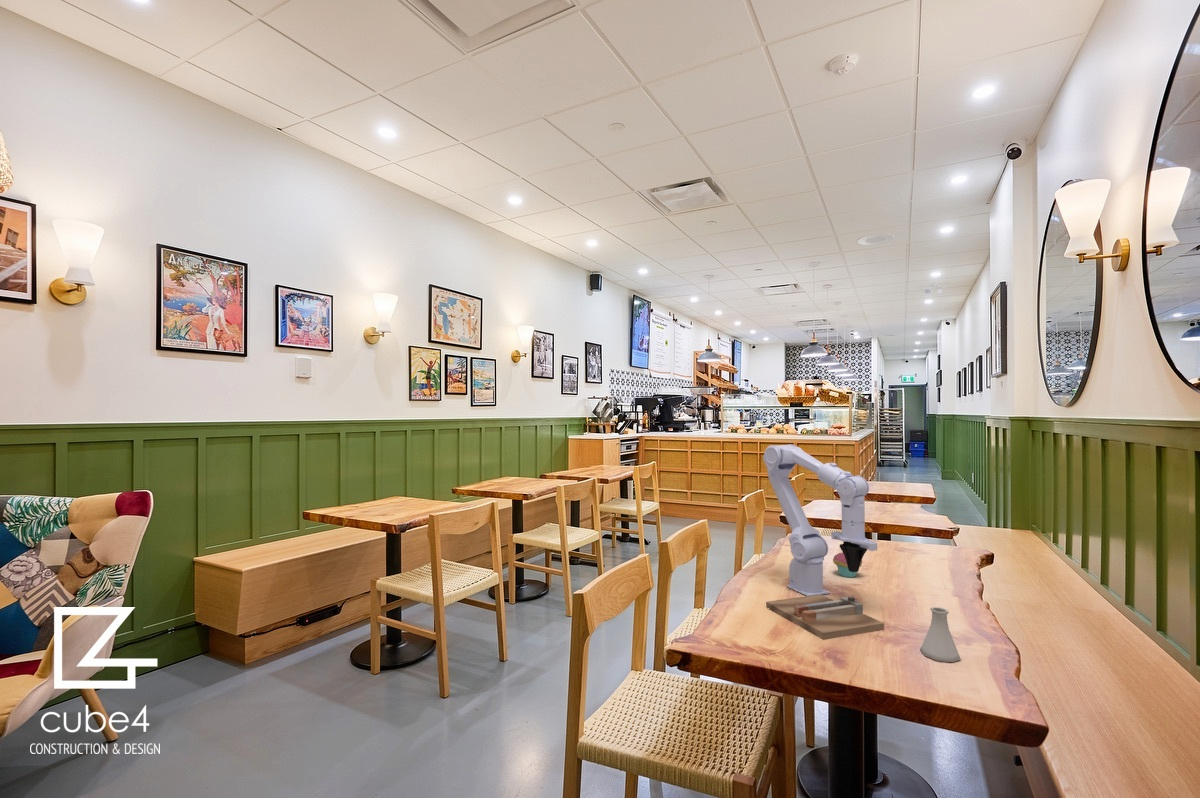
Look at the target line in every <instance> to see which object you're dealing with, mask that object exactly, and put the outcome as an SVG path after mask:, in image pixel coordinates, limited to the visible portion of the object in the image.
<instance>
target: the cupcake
mask: <svg viewBox="0 0 1200 798" xmlns="http://www.w3.org/2000/svg"><path fill="white" fill-rule="evenodd" d="M832 562H833V564H834V565H836V567H837V570H838V574H839V575H840V576H842V577H844V578H855V577H857V573H858V572H850V571H849V569H848V565H847V562H846V559H845V556H844V554H843V552H839V553H837V554H835V555H834V556H833V558H832ZM862 564H863V559H862V560H861V563H860V567H859V568H861V567H862Z"/></svg>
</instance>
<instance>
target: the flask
mask: <svg viewBox="0 0 1200 798" xmlns="http://www.w3.org/2000/svg"><path fill="white" fill-rule="evenodd" d="M930 612H931V621H930V626H929V627H928V630H927V633H926V636H925V638H924V639H923V642H922V644H921V646H920V648H919V650H920V652H921V653H922V654H923V656H925V657H927V658H930V659H931V660H935V661H937V662H946V663H947V662H948V663H954V662H957V661H961V660H962V658H961V656H960V653H959V651H958V649H957V646H956V645H955V644H956V643H955V641H954V639H953V636H952V634H951V631H950V627H949V624H948V615H949V613H950V612H949V610H948V609H947V608H944V607H938V606H932V607H930Z"/></svg>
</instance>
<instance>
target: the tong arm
mask: <svg viewBox="0 0 1200 798" xmlns="http://www.w3.org/2000/svg"><path fill="white" fill-rule="evenodd" d="M832 600H833V601H827V602H820V603H813V604H806V605H804V604H803V605H796V606H794V614H795V615H797V616H802V611H807V610H818V609H825V608H831V607H838V606H843V601H841V599H836V600H835V599H832Z"/></svg>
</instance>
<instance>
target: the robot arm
mask: <svg viewBox="0 0 1200 798" xmlns="http://www.w3.org/2000/svg"><path fill="white" fill-rule="evenodd" d="M762 460H763V462H764V464H765V467H766V469H767V476H768V480H769V482H770V485H771V487H772V489H773V491H774V494H775V497H776V498H777V501H778V503H779V505H780V507H781V509H782V512H783V514H784V516H785V518H786V521H787V523H788V526H789V528H790V530H791V533H790V535H789V537H788V541H789V544H790V552H791V555H792V556H793V558H791V560H790V563H789V565H788V567H789V570H788V571H789V572H788V573H789V574H788V575H789V577H788V578H789V584H787V585H786V587H787V588H789V589H791V590H794V591H796V592H798V593H800V594H802V595H803V596H813V595H820V594H821V595H828V594H830V593H831V592H830V591H829V590H826V589H824V567H823V566H824V563H823V562H824V561H825V557H826V556H827V555H828V554H829V553H828V552H829V545H828V543H827V541H826V539H825V538H824V537H822V535H821V533H820V532H819V530H818V529H817V528H815V527H813V526H812V525H810V522H809V520H808V518H807V516H806V514H805V511H804V509H803V506H802V505H801V502H800V501H799V498H798V496H797V493H796V492H795V489H794V488H793V485H792V483H791V480H790V478H789V476H790V474H791V472H792V471H793V470H794V468H795V467H796V466H797V465H799V466H801V467H803V468H804V469H807V470H809V472H810V471H811V472H812V473H815V474H816V475H817V479H818V480H819V481H820V482H822V483H824V484H825V485H827V486H829V487H831V488H833V489H834V490H835V491H836V492H837V494H838V496H839V498H840V500H839V502H840V503H841V531H831V533H830V535H831V536H830V537H831V540H837V541H841V542H843V543H841V544H839V549H841V551H842V552H841V553H843V554H844V556H845V559H846V562H847V565H848V569H849V571H850V572H857V573H858V572H859V570H860V568H861V567H860V563H861V560H862V561H863V558H864V556H865V554H866V552H867V551H871V552H874V551H878V542H875V541H873V540H871V539H868V538H867V537H866V534H865V533H866V525H865V523H866V521H865V520H866V519H865V518H866V517H865V516H866V515H865V513H866V512H865V500H866V499H865V496H867V494H868V493H869V492H870V491H869V490H870V486H869V483H868V481H867V479H865V478H864V477H863V476H862V475H852V472H850V471H845V470H844V469H842V468H840V467H839V466H838V463H835V462H826V463H823V462H821V461H819V460H818V459H817V458H815V457H813V456H812V455H810V454H808V453H807V452H805V451H804V450H803V449H802V448H801V447H799V446H796V445H795V444H791V443H789V444H781V445H780V444H779V445H774V444H772V445H771V444H770V445H768V446H767V447H766V448H765V451H764V454H763V457H762Z"/></svg>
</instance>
